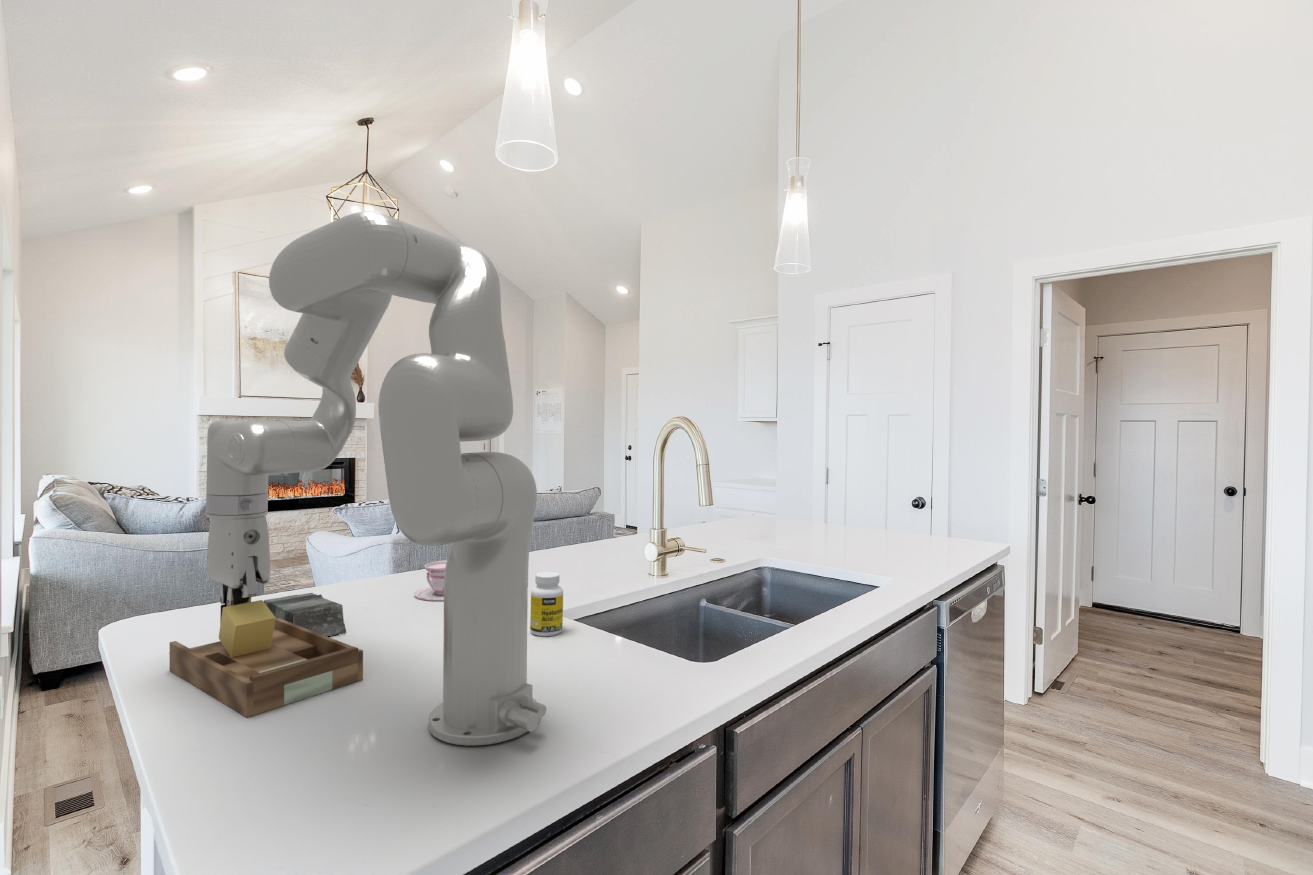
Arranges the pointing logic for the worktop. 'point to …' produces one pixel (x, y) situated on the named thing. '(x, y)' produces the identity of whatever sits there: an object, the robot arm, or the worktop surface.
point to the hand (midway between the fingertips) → (234, 630)
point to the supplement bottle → (546, 605)
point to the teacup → (433, 582)
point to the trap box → (269, 669)
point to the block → (246, 628)
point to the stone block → (309, 613)
